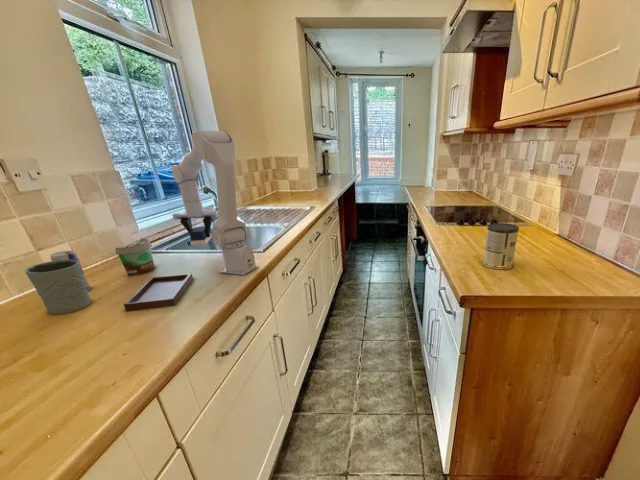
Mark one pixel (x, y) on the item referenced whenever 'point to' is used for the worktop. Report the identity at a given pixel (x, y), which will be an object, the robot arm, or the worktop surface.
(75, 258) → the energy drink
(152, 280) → the tray
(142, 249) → the food container
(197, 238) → the board eraser
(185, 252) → the worktop surface
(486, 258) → the coffee can
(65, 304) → the grey plant pot
